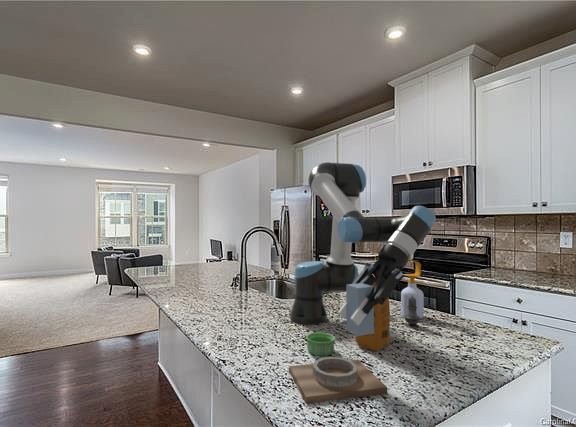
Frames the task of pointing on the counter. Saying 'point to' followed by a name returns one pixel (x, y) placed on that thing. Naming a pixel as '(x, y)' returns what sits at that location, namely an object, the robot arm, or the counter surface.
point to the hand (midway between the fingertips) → (348, 318)
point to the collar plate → (334, 392)
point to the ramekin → (320, 343)
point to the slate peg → (353, 301)
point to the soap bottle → (413, 293)
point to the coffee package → (378, 328)
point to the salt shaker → (412, 314)
